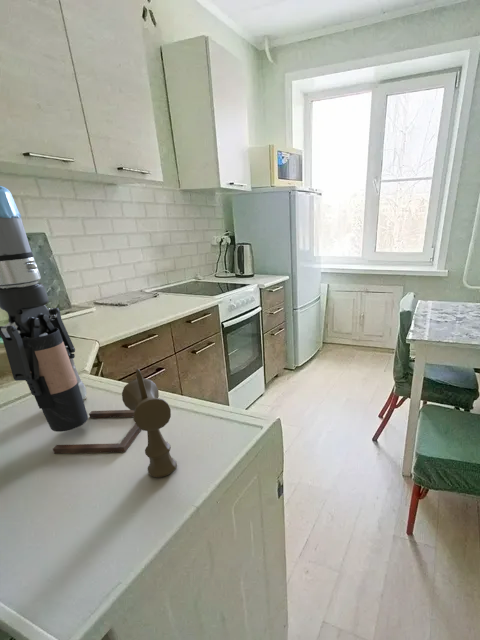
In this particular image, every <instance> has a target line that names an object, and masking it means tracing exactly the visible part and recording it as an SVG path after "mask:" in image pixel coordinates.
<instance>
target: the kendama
mask: <svg viewBox="0 0 480 640" xmlns="http://www.w3.org/2000/svg"><path fill="white" fill-rule="evenodd" d="M135 375H136V379H133V380H131V381H129V382H128V383H126V385H124V386H123V389H122V392H121V398H122V399H121V400H122V402H123V405H124V407H126V408H127V409H128V410H134V417H133V421H134V424H135V423H136V425H137V426H138V427H139V428H140V429H141V431H143V432H147V433H146V434H147V446H146V447H145V449H144V453H145V456H146V457H148V459H149V464H148V465H147V474H149V475H150V476H151V477H153V478H163V477H166V476H168V475H171V474H172V473H173V472H174V471H176V470H177V467H178V463H177V460H176V459H175V458H173V457H172V456H171V453H170V451H171V448H172V447H171V444H170V443H169V442H168V441H166V440H165V438H164V437H163V434H162V432H161V430H160V429H162V428H164V427H165V426H166V425H167V424H168V423H169V422H170V418H171V415H172V413H171V412H172V411H171V410H172V409H171V407H170V405H169V403H168V402H167V401H166V400H165V399H163V398H161V397H160V398H159V396H160V395H159V394H160V393H159V388H158V386H157V384H156V383H155V382H154V381H153V380H151V379H148V378H144V377H143V375H142V372H141V370H140V369H139V368H137V369H135Z"/></svg>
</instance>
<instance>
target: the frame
mask: <svg viewBox="0 0 480 640" xmlns="http://www.w3.org/2000/svg"><path fill="white" fill-rule="evenodd" d="M88 415H89V416H88V417H89V418H90V419H103V418H104V419H108V418H134V410H130V409H115V410H111V409H110V410H91V411H90V412H89V413H88ZM141 431H142V429H140V428H139V427H138V426H137V425H136V423H135V422H134V425H132V427H131V428H130V430H129V431H128V432H127V433H126V435H125V436H124V438H122V440H121V442H119V443H116V442H115V443H80V444H79V443H78V444H74V443H73V444H56V445H55V446H54V447H53V448H52V453H54V454H55V455H56V454H59V455H61V454H97V453H98V454H99V453H100V454H101V453H102V454H103V453H104V454H105V453H107V454H108V453H126V452H127V450H128V449H129V447H130V446H131V445H132V443H133V442H134V441H135V439H136V438H137V436H138V435H139V434H140V433H141Z"/></svg>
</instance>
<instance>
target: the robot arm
mask: <svg viewBox="0 0 480 640" xmlns="http://www.w3.org/2000/svg"><path fill="white" fill-rule="evenodd" d="M41 279H42V277H41V273H40V271H39V268H38V265H37V262H36V260H35V257H34V252H33V251H32V249H31V246H30V242H29V239H28V236H27V233H26V228H25V226H24V222H23V218H22V214H21V213H20V211H19V209H18V207H17V204H16V201H15V200H14V196H13V195H12V193H11V191H10V189H8V188H7V187H5V186H2V185H0V309H1V310H3V311H5V312H6V313H7V316H8V323H6V324H5V325H0V338H1V340H2V342H3V346H4V349H5V352H6V356H7V360H8V363H9V366H10V367H9V368H10V371H11V374H12V377H13V380H14V381H16V382H17V381H22V382H23V381H25V382H26V384H27V386H28V389H29V391H30V394H31V395H32V396H34V399H35V401H36V403H37V406H38V408H39V409H40V410H42V409H45V408H54V407H55V404H54V402H53V399H52V396H51V394H50V391H49V389H48V386H47V384H46V381H45V378H44V376H40V377H39V363H38V359H37V357H36V354H35V351H34V349H33V346H31V347H30V348H24V346H23V342H22V339H29V338H24V336H25V337H31V338H36V337H39V335H40V334H41V333H47V334H51V333H54V332H55V330H56V329H55V328H58V329H59V331H60V334H61V337H62V339H63V342H64V345H65V346H68V347H65V348H66V351H67V353H68V356H69V359H72V358H73V359H74V358H75V356H76V355H75V353H76V347H75V345H74V343H73V342H72V341H73V340H72V339H71V336H70V335H69V333H68V330H67V328H66V326H65V324H64V321H63V319H62V315H61V310H60V308H59V307H47V306H46V305H48V304H49V302H50V299H49V295H48V294H47V290H46V287H45V284H44V283H42V282H40V280H41ZM54 327H55V328H54ZM71 353H72V354H71ZM70 362H71V360H70ZM71 365H72V363H71ZM72 368H73V366H72ZM73 370H74V369H73ZM30 371H31V372H32V373H31V372H30Z"/></svg>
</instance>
